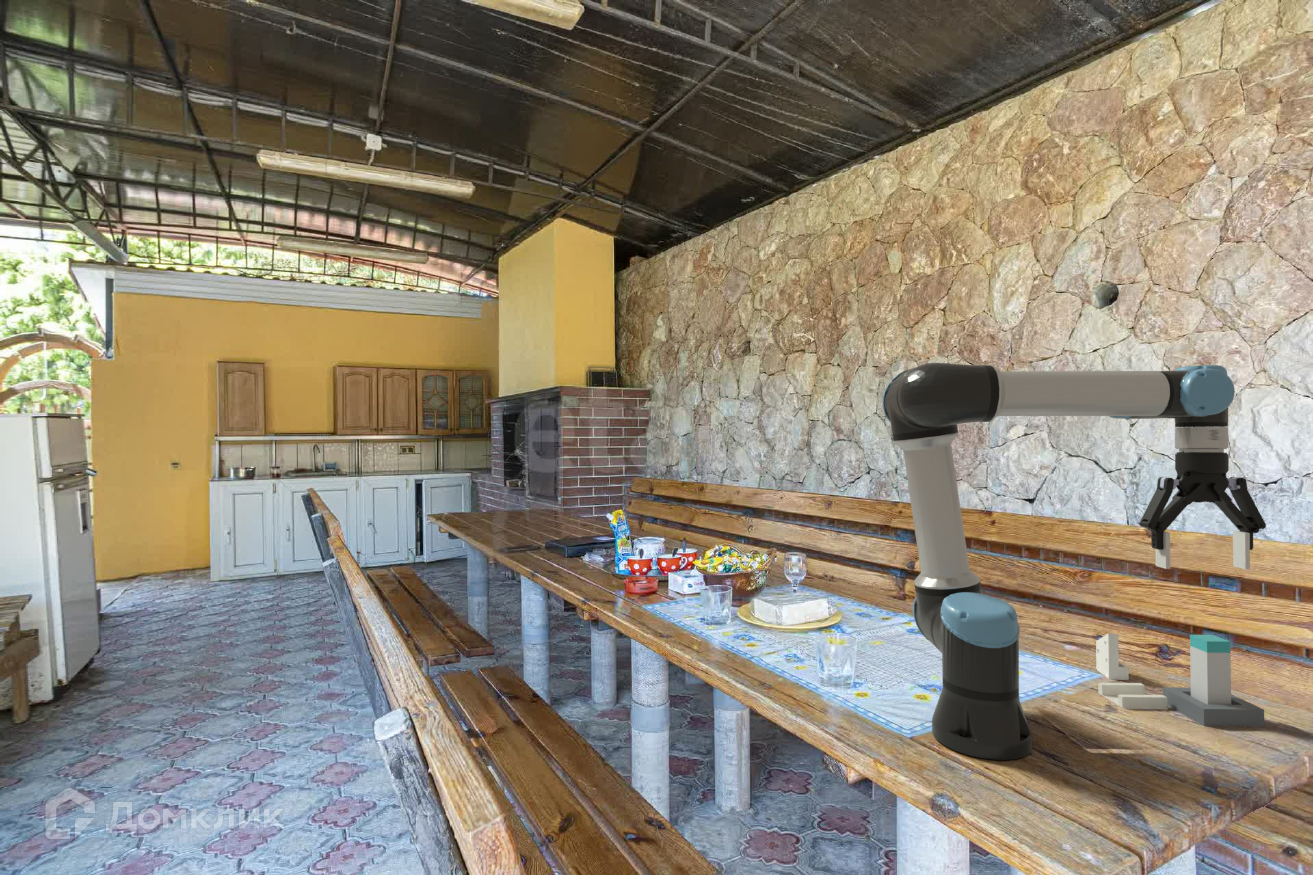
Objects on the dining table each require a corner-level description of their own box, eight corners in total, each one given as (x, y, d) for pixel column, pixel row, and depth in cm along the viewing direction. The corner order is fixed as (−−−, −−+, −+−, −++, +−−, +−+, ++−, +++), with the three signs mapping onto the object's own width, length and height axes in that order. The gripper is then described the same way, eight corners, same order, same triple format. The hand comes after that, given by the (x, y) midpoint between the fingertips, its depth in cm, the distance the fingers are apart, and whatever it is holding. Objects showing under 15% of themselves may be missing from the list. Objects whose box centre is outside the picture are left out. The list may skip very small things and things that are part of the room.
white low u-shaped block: (1123, 711, 122) (1123, 697, 122) (1097, 695, 130) (1097, 681, 130) (1168, 712, 121) (1168, 698, 121) (1139, 695, 129) (1139, 682, 129)
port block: (1203, 729, 114) (1203, 709, 114) (1161, 705, 124) (1160, 686, 124) (1266, 730, 114) (1266, 709, 114) (1218, 705, 124) (1218, 687, 124)
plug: (1207, 720, 117) (1206, 641, 117) (1190, 710, 121) (1189, 634, 121) (1231, 720, 117) (1230, 641, 117) (1213, 711, 121) (1212, 634, 121)
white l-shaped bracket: (1119, 677, 132) (1108, 633, 137) (1099, 686, 141) (1090, 644, 145) (1139, 678, 132) (1128, 634, 136) (1118, 687, 140) (1108, 645, 144)
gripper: (1143, 451, 117) (1144, 571, 117) (1292, 451, 115) (1293, 572, 115) (1116, 450, 124) (1117, 563, 124) (1256, 450, 123) (1256, 564, 123)
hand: (1202, 567), depth 120 cm, fingers open, 13 cm apart
